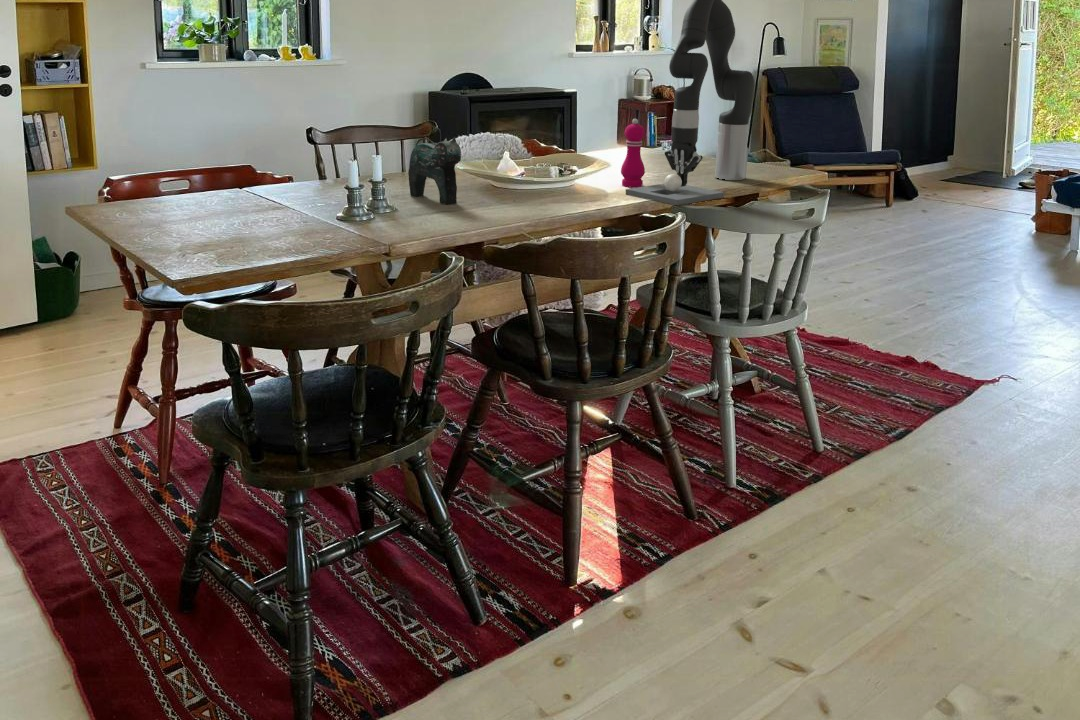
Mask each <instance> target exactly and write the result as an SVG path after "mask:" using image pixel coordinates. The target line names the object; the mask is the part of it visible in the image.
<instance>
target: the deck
mask: <svg viewBox="0 0 1080 720" xmlns="http://www.w3.org/2000/svg"><path fill="white" fill-rule="evenodd" d="M625 195H627V196H630V197H631V196H632V197H636V198H641V199H644V200H645V199H646V200H650V201H655V202H660V203H665V204H670V205H674V206H682V205H687V204H693V203H697V202H699V203H700V202H705V201H711V200H716V199H722V198H724V196H725V192H724V191H720V190H715V189H710V188H703V187H700V186H693V185H689V184H686V186H683V187H680V188H679V189H678V190H676V191H670V190H668V189H667V188H666V187H665V184H664V183H660V184H659V183H658V184H653V185H646V186H642V187H630V188H626V189H625Z"/></svg>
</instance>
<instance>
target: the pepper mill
mask: <svg viewBox="0 0 1080 720" xmlns="http://www.w3.org/2000/svg"><path fill="white" fill-rule="evenodd" d="M645 134H646V132H645V129H644V126H642V125H641V124H639V120H638V119H637V118H633V119H632V121H631V124H629V125H627V126H626V127H625V130H624V137H625V138H626V140H625V146H626V148H627V149H626V155H625V159H624V160H623V163H622V165H621V167H620V168H621V169H620V174H621V175H622V177H623V178H622V180H621V185H622V186H623V187H625V188H638V187H644V186H643V184H644V182H643V179H642V177H644V176H645V174H646V171H645V169H646V168H645V164H644V162H643V159H642V155H641V147H642V146H643V142H644V141H643V138H644V137H645Z"/></svg>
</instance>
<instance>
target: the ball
mask: <svg viewBox="0 0 1080 720" xmlns="http://www.w3.org/2000/svg"><path fill="white" fill-rule="evenodd" d="M663 184H665V187H666V188H667V189H668V190H670V191H676V190H678V189H679V188H680V187H681V185H682V180H681V177H680V176H679V175H677V173H669V174H668V175H667V176H666V177H665V178H664V183H663Z"/></svg>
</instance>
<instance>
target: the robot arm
mask: <svg viewBox="0 0 1080 720" xmlns="http://www.w3.org/2000/svg"><path fill="white" fill-rule="evenodd" d="M735 37H736V27H735V23H734V19H733V15H732V12H731V9H730V8H729V6H728V5H727V4H726V3H725V2H724V1H723V0H692V2H691V3H690V5H689V6H688V7H687V9H686V11H685V13H684V16H683V21H682V27H681V33H680V38H679V40H678V42H677V45H676V48H675V50H674V52H673V53H672V56H671V59H670V61H669V69H668V70H669V73H670V75H671V76H672V77H674V78H675V79H684V80H685V79H686V80H687V79H688V80H689V79H690V80H692V83H691V84H690V85H687V86H681V87H678V88H676V89H675V90H674V100H673V113H672V119H671V134H670V135H671V136H670V141H671V142H672V143H671V145H670V148H669V150H667V151H664V156H665V158H666V160H667V162H668V164H669V166H670V168H671V170H672V171H675V173H676V174H677V175H679V176H680V177H681V180H682V185H681V187H683V186H686V185H688V177H689V176H688V174H689V173H691V172H694V171H695V170H696V168H697V167H698V166H699V164H700V163H701V162H702V160H703V159H704V157H703V156H702V155H699V154H698V152H697V149H698V148H697V146H696V145H697V143H698V138H699V137H698V136H699V125H700V122H699V121H700V114H699V108H700V98H701V97H700V95H701V89H702V86H703V82H704V80H705V77H706V74H707V71H708V68H709V60H708V57H707V56H706V55H705V54H704V53H702V52H690V51H692V50H695V49H699V48H702V47H703V46H704V45H705V44H706V46H707V49H708V50H707V51H708V54H709V59H710V62H711V63H710V64H711V68H712V69H711V70H712V76H713V81H714V88H715V91H716V94H717V96H718V98H720V99H721V100H724V101H730V102H731V101H733V102H734V104H733V107H732V108H731V109H729V110H726V111H723V112H721V113H720V114H719V115H718V116H719V117H718V126H717V127H718V128H717V129H718V130H717V140H716V141H717V145H716V156H715V171H714V178H715V177H716V178H715V179H717V178H719V179H718V180H722V179H725V180H724V181H742V180H745V179H746V178H747V171H748V169H747V168H748V155H749V147H748V145H747V144H748V137H749V136H748V135H749V134H748V133H749V122H750V121H749V120H750V116H751V114H752V108H753V100H754V93H755V92H754V91H755V78H754V75H753V72H751V71H749V70H739V69H738V70H737V69H732V68H731V67H730V64H729V52H730V50H731V47H732V45H733V43H734V40H735Z"/></svg>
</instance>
